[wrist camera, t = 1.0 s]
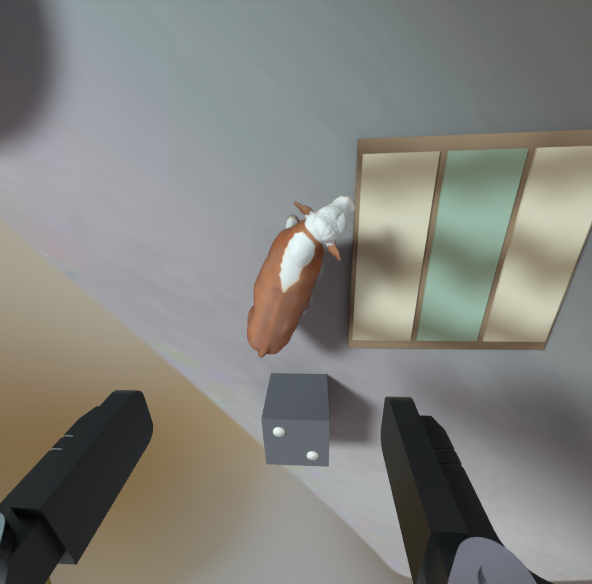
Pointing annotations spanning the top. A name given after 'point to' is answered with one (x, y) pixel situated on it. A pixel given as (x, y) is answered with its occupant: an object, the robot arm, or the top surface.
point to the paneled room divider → (467, 238)
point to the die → (297, 420)
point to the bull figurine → (293, 273)
